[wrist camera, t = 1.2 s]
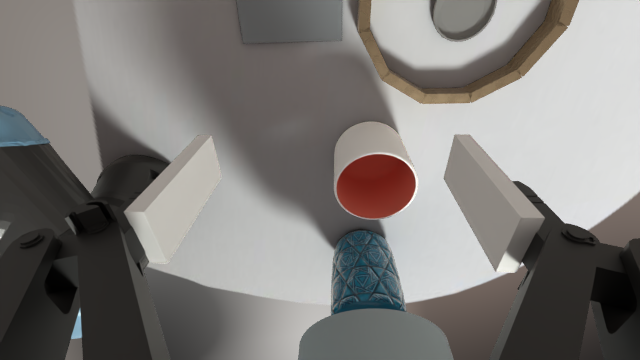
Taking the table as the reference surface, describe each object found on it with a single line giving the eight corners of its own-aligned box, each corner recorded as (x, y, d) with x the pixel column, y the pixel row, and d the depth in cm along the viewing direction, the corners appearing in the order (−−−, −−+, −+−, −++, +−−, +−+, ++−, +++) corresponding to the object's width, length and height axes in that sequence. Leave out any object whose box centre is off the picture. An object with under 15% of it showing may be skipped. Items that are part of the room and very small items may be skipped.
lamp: (411, 197, 47) (562, 612, 16) (417, 273, 57) (517, 619, 26) (298, 214, 50) (234, 589, 19) (323, 284, 60) (308, 603, 29)
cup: (332, 119, 41) (332, 153, 32) (405, 116, 40) (423, 149, 31) (335, 179, 46) (335, 221, 38) (399, 177, 45) (413, 219, 37)
